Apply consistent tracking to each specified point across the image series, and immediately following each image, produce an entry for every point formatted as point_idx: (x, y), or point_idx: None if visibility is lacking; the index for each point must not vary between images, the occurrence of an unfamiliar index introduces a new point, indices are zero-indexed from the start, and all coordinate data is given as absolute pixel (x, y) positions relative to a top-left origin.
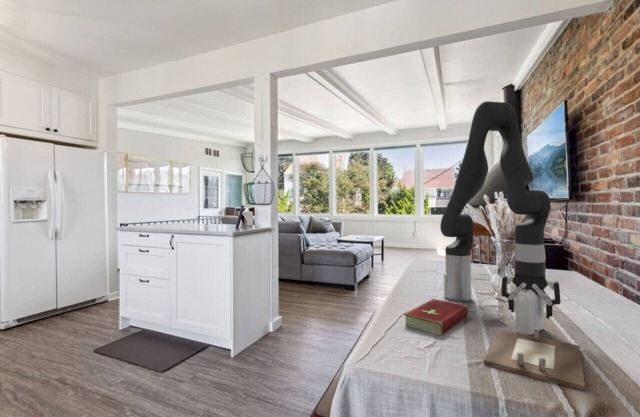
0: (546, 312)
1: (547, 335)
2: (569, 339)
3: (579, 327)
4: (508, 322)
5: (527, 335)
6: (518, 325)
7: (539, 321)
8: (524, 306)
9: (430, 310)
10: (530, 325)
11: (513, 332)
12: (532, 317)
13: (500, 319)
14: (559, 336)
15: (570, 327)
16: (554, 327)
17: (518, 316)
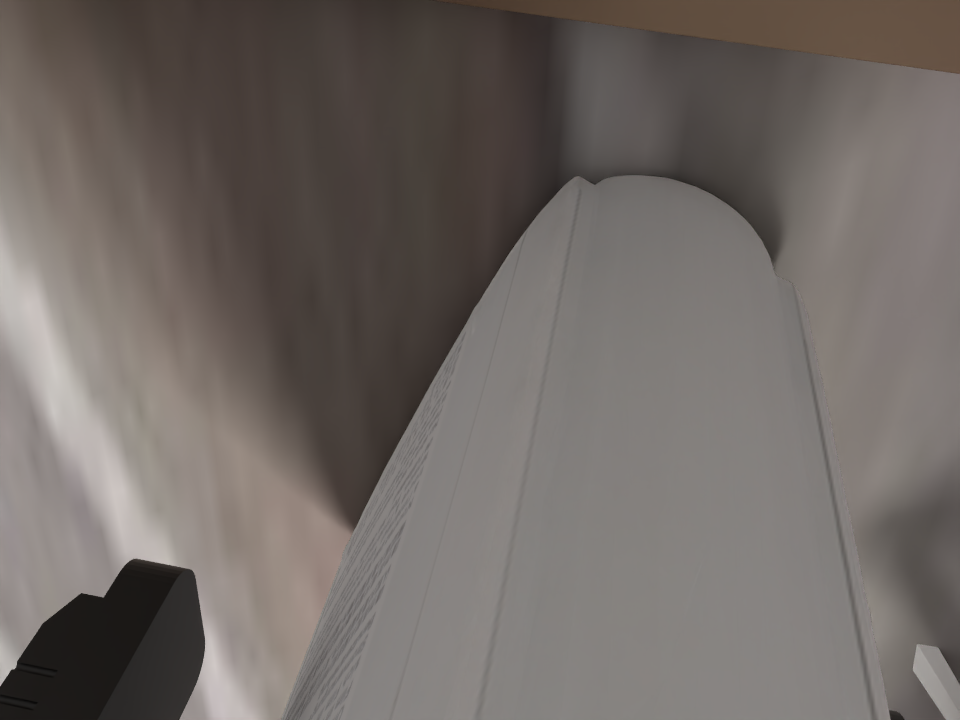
0: (119, 673)
1: (296, 333)
2: (21, 294)
3: None
4: None
5: (617, 1)
6: (770, 316)
7: (355, 554)
8: (626, 715)
9: None
10: (519, 300)
11: (918, 56)
12: (440, 475)
13: (945, 688)
14: (149, 357)
15: None
16: (245, 623)
17: (790, 469)
